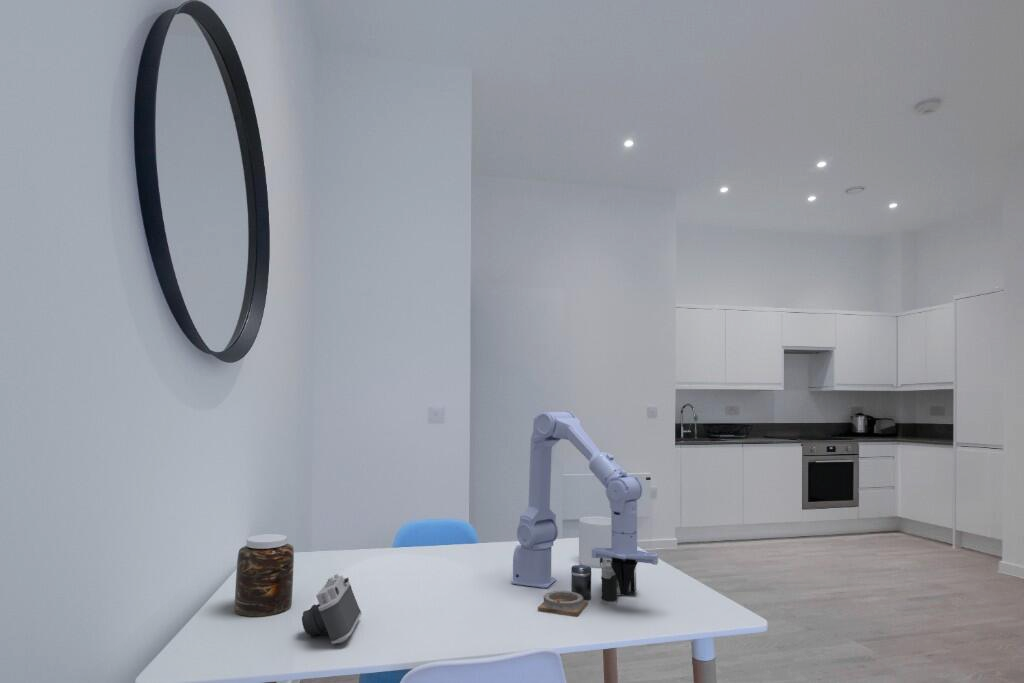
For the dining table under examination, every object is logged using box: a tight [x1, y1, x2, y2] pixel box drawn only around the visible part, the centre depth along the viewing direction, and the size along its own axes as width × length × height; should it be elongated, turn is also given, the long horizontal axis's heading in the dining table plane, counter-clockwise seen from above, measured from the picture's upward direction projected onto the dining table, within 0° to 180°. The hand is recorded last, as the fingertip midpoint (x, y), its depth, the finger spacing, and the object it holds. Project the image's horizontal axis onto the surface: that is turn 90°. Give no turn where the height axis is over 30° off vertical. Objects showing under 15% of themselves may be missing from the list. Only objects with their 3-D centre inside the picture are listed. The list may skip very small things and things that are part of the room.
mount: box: [537, 590, 589, 617], centre depth 136 cm, size 9×9×2 cm
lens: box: [570, 564, 592, 602], centre depth 143 cm, size 5×5×7 cm
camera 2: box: [600, 558, 637, 604], centre depth 147 cm, size 16×9×10 cm, turn 168°
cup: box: [578, 516, 611, 569], centre depth 176 cm, size 12×12×12 cm
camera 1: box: [301, 573, 362, 645], centre depth 120 cm, size 9×16×10 cm, turn 8°
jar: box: [234, 533, 295, 618], centre depth 134 cm, size 12×12×15 cm
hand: (624, 594), depth 136 cm, fingers closed
